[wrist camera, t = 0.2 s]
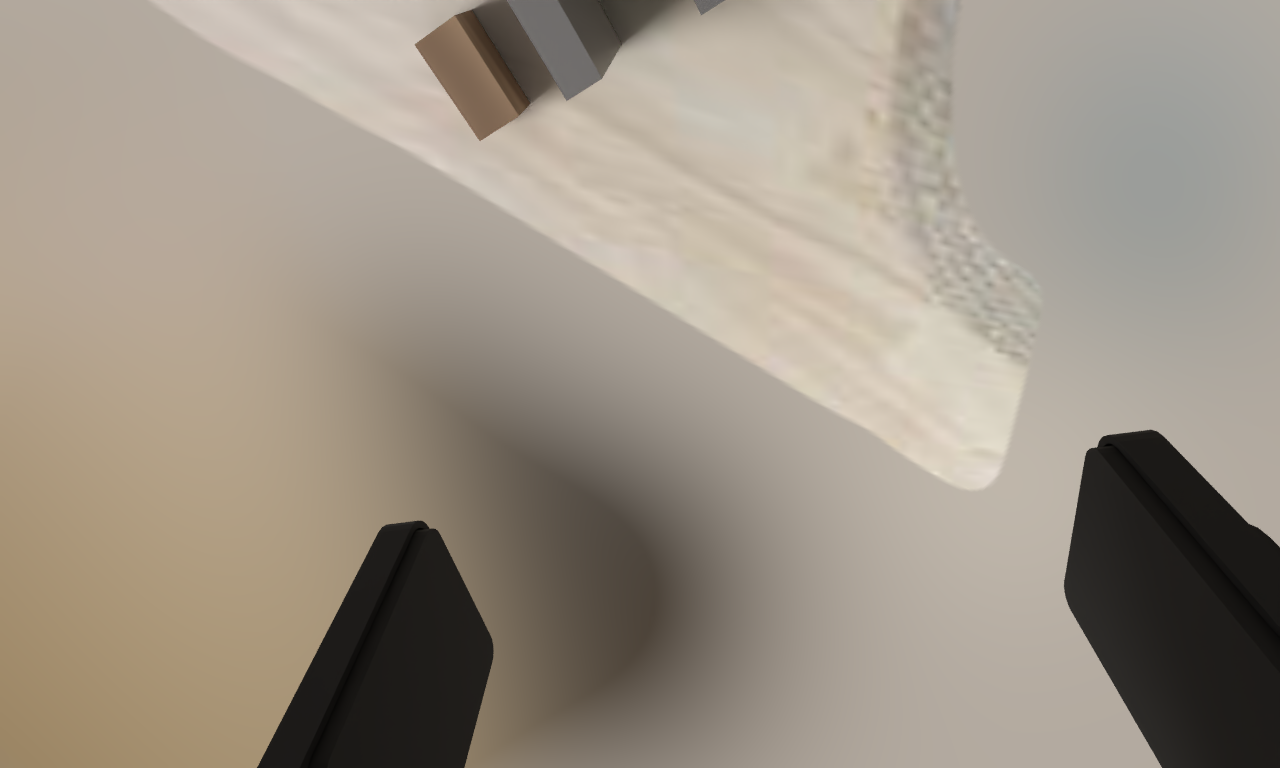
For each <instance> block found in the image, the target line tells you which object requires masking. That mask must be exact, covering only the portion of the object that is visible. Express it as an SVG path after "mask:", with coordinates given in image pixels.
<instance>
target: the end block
mask: <svg viewBox="0 0 1280 768" xmlns="http://www.w3.org/2000/svg"><path fill="white" fill-rule="evenodd" d="M415 46H416V48H417V49H418V51H419V52H420V54H421V55H422V56H423V58H424V59H425V61H426V62H427V64H428V65H429V67H430V68H431V70H432V71H433V73H434V74H435V76H436V77H437V79H438V80H439V82H440V83H441V84H442V86H443V87H444V89H445V90H446V92H447V93H448V95H449V96H450V98H451V99H452V101H453V102H454V104H455V105H456V107H457V108H458V110H459V111H460V113H461V114H462V115H463V117H464V118H465V120H466V121H467V123H468V124H469V126H470V127H471V129H472V130H473V132H474V133H475V135H476V136H477V138H478V139H479V141H481V140H482V139H484V138H485V137H487V136H489V135H490V134H492V133H493V132H495V131H496V130H498V129H499V128H501V127H503V126H504V125H506V124H507V123H509V122H510V121H512V120H513V119H515V118H516V117H518V116H519V115H520V114H521V113H522V112H523V111H524V110H525V109H526V108H527V107H528V106H529V104H530V102H529V101H528V99H527V98H526V96H525V94H524V93H523V91H522V90H521V88H520V86H519V85H518V83H517V82H516V80H515V78H514V77H513V75H512V74H511V72H510V70H509V69H508V67H507V66H506V64H505V62H504V61H503V59H502V58H501V56H500V54H499V53H498V51H497V50H496V48H495V46H494V45H493V43H492V42H491V40H490V38H489V37H488V35H487V34H486V32H485V30H484V29H483V27H482V26H481V24H480V22H479V21H478V19H477V18H476V16H475V14H474V13H473V11H472V10H469V11H466V12H463V13H461V14H458V15H455V16H453V17H452V18H451V19H449V20H448V21H446V22H445V23H444V24H442V25H441V26H440V27H438V28H437V29H435V30H434V31H433V32H431V33H430V34H429V35H427V36H426V37H424V38H423V39H422V40H420V41H419V42H418V43H416V44H415Z"/></svg>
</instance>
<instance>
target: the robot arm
mask: <svg viewBox="0 0 1280 768" xmlns="http://www.w3.org/2000/svg"><path fill="white" fill-rule="evenodd" d="M1064 589H1065V596H1066V599H1067V602H1068V605H1069V607H1070V609H1071V611H1072V613H1073V615H1074V617H1075V618H1076V620H1077V622H1078V623H1079V625H1080V627H1081V629H1082V630H1083V632H1084V634H1085V636H1086V637H1087V639H1088V641H1089V642H1090V644H1091V646H1092V648H1093V649H1094V651H1095V653H1096V654H1097V656H1098V658H1099V660H1100V661H1101V663H1102V665H1103V667H1104V668H1105V670H1106V672H1107V673H1108V675H1109V677H1110V678H1111V680H1112V682H1113V684H1114V686H1115V687H1116V689H1117V691H1118V692H1119V694H1120V696H1121V697H1122V699H1123V701H1124V703H1125V704H1126V706H1127V708H1128V710H1129V711H1130V713H1131V715H1132V716H1133V718H1134V720H1135V722H1136V723H1137V725H1138V727H1139V729H1140V730H1141V732H1142V734H1143V735H1144V737H1145V739H1146V741H1147V742H1148V744H1149V746H1150V748H1151V749H1152V751H1153V752H1154V754H1155V756H1156V758H1157V760H1158V761H1159V763H1160V765H1161V767H1162V768H1280V547H1279V546H1278V545H1277V544H1276V543H1275V542H1274V541H1273V540H1272V539H1271V538H1270V537H1269V536H1267V535H1266V534H1265V533H1264V532H1263V531H1261V530H1260V529H1259V528H1257V527H1255V526H1252V525H1250V524H1248V523H1247V522H1246V521H1245V520H1244V519H1243V518H1242V517H1241V516H1240V515H1239V514H1238V513H1237V512H1236V510H1235V509H1233V507H1232V506H1231V505H1230V504H1229V503H1228V502H1227V501H1226V500H1225V499H1224V498H1223V497H1222V496H1221V495H1220V494H1219V493H1218V492H1217V491H1216V490H1215V489H1214V488H1213V487H1212V486H1211V485H1210V484H1209V483H1208V482H1207V481H1206V480H1205V479H1204V478H1203V476H1202V475H1201V474H1199V473H1198V472H1197V470H1196V469H1195V468H1194V467H1193V466H1192V465H1191V464H1190V463H1189V462H1188V461H1187V460H1186V459H1185V458H1184V457H1183V456H1182V455H1181V454H1180V453H1179V452H1178V451H1177V450H1176V449H1175V448H1174V447H1173V446H1172V445H1171V444H1170V442H1169V441H1167V439H1165V437H1163V436H1162V435H1161V434H1160V433H1159V432H1157V431H1153V430H1146V431H1138V432H1130V433H1122V434H1114V435H1107V436H1103V437H1102V438H1101V440H1100V441H1099V444H1098V447H1097V448H1091V449H1089V450H1088V451H1087V453H1086V456H1085V462H1084V467H1083V474H1082V479H1081V485H1080V491H1079V497H1078V503H1077V509H1076V515H1075V521H1074V527H1073V533H1072V539H1071V545H1070V551H1069V557H1068V562H1067V568H1066V574H1065V580H1064ZM492 660H493V643H492V638H491V636H490V634H489V632H488V630H487V628H486V626H485V624H484V622H483V620H482V617H481V615H480V613H479V612H478V610H477V608H476V606H475V603H474V602H473V600H472V597H471V596H470V593H469V591H468V589H467V587H466V585H465V583H464V581H463V580H462V577H461V575H460V573H459V571H458V569H457V567H456V565H455V563H454V561H453V559H452V557H451V556H450V553H449V551H448V549H447V547H446V545H445V543H444V541H443V539H442V537H441V535H440V534H439V532H438V531H437V530H436V529H429V527H428V526H427V524H426V523H424V522H423V521H413V522H405V523H397V524H389V525H385V526H384V527H382V528H381V530H380V531H379V532H378V534H377V536H376V538H375V540H374V542H373V544H372V546H371V548H370V550H369V552H368V554H367V556H366V558H365V560H364V562H363V564H362V565H361V567H360V569H359V571H358V573H357V575H356V577H355V579H354V581H353V583H352V585H351V587H350V589H349V591H348V593H347V594H346V596H345V598H344V600H343V602H342V604H341V606H340V608H339V610H338V612H337V614H336V616H335V618H334V620H333V622H332V624H331V626H330V627H329V630H328V631H327V633H326V635H325V637H324V639H323V641H322V643H321V645H320V647H319V649H318V651H317V653H316V655H315V657H314V658H313V660H312V662H311V664H310V666H309V668H308V670H307V672H306V674H305V676H304V678H303V680H302V682H301V684H300V686H299V688H298V690H297V692H296V694H295V695H294V697H293V699H292V701H291V703H290V705H289V707H288V709H287V711H286V713H285V715H284V717H283V719H282V721H281V722H280V724H279V726H278V728H277V730H276V732H275V734H274V736H273V738H272V740H271V742H270V744H269V746H268V748H267V750H266V752H265V754H264V755H263V757H262V759H261V761H260V763H259V765H258V767H257V768H464V767H465V763H466V759H467V755H468V751H469V748H470V744H471V740H472V736H473V733H474V729H475V725H476V721H477V718H478V714H479V710H480V706H481V703H482V699H483V695H484V691H485V687H486V684H487V680H488V676H489V672H490V669H491V665H492Z"/></svg>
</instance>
